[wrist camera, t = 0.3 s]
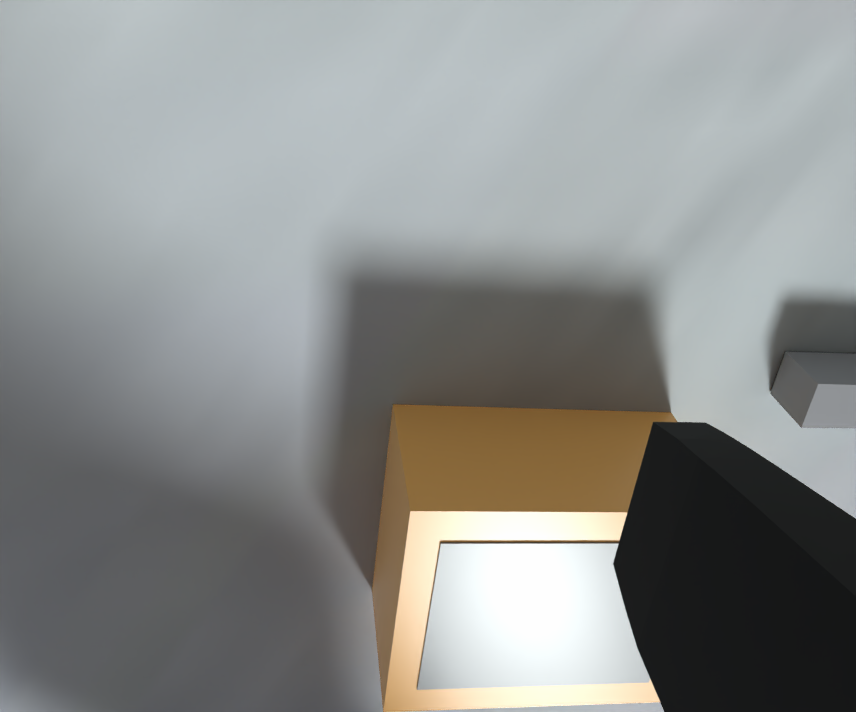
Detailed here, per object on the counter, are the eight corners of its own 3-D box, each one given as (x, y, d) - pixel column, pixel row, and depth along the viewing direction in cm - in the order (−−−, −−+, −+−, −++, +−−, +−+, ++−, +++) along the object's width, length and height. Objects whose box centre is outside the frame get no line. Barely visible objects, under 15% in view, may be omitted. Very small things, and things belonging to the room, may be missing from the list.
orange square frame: (613, 582, 24) (667, 703, 20) (371, 584, 22) (383, 714, 19) (667, 407, 21) (741, 514, 17) (392, 400, 19) (411, 512, 16)
